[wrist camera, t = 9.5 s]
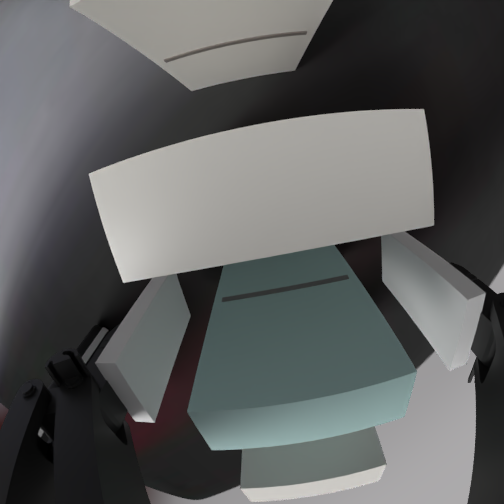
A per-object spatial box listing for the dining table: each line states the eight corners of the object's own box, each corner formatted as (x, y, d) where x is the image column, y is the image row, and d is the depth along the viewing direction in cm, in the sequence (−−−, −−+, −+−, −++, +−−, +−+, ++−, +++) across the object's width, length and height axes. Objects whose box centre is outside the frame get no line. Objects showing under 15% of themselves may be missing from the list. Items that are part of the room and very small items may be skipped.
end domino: (248, 327, 16) (240, 488, 7) (332, 311, 16) (387, 463, 7) (254, 350, 17) (251, 502, 8) (334, 336, 17) (378, 481, 7)
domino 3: (227, 248, 15) (186, 410, 5) (324, 230, 14) (417, 369, 5) (236, 281, 15) (212, 450, 6) (328, 264, 15) (403, 418, 6)
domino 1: (184, 58, 11) (74, -49, 2) (286, 38, 11) (331, -104, 1) (191, 92, 12) (69, 8, 2) (294, 71, 11) (366, -53, 2)
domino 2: (204, 151, 13) (87, 170, 4) (308, 131, 12) (423, 105, 3) (213, 189, 14) (124, 285, 4) (315, 169, 13) (434, 228, 4)
